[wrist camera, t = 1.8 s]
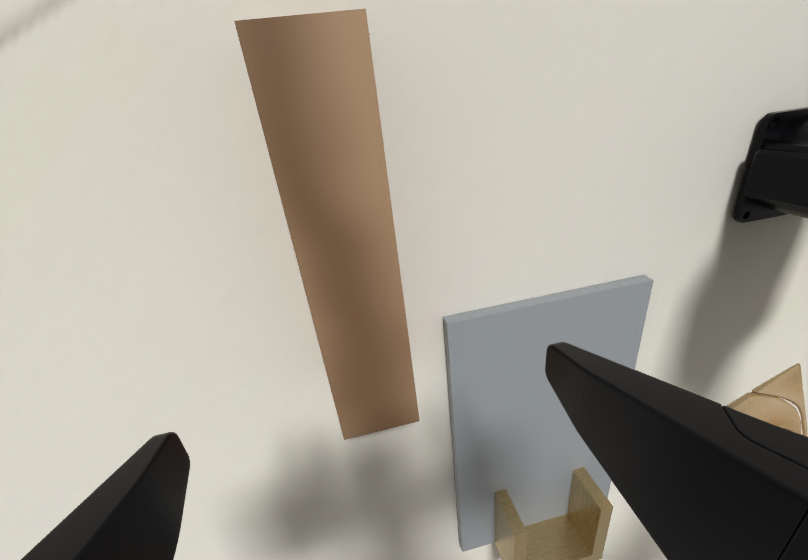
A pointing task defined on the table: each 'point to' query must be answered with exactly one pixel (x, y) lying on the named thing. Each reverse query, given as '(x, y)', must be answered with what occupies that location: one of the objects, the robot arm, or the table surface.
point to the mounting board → (528, 398)
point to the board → (777, 401)
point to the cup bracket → (556, 526)
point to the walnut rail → (337, 204)
